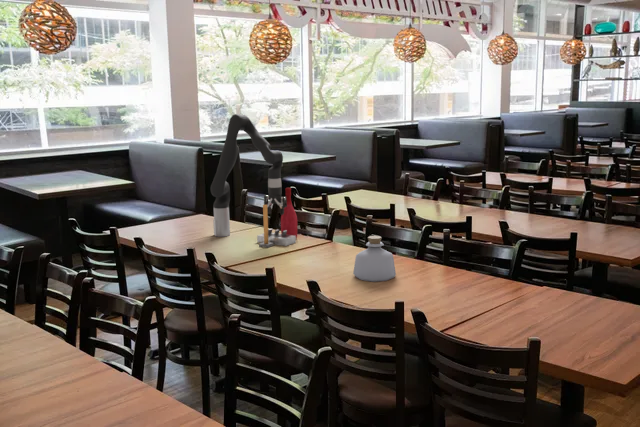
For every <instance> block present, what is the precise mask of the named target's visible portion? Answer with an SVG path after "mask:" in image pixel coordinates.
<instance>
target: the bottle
mask: <svg viewBox="0 0 640 427" xmlns="http://www.w3.org/2000/svg"><path fill="white" fill-rule="evenodd" d="M367 240H368V242H366V244H365V246H366V247H367V248H366V249H364V250H362V251H360V252H358V253H357V254H356V255H355V260H354V266H353V275H354V277H356V278H357V279H359V280H360V281H365V282H366V281H367V282H374V283H376V282H377V283H378V282H387V281H390V280H392V279H394V278H395V277H396V275H397V273H396V267H395V266H396V265H395V260H394V259H395V258H394V256H393V253H392V252H391V251H387V249H384V248H382V246H384V243H383V242H382V241H381V240H382V236H379V235H369V236H368V237H367Z"/></svg>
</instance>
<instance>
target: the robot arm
mask: <svg viewBox="0 0 640 427" xmlns="http://www.w3.org/2000/svg"><path fill="white" fill-rule="evenodd" d="M240 131H243V132H245V133H246V134H247V135H248V136H249V138H250V139H251V142H252V144H253V146H254V147H255V148H256V150H258V151H259V152H260V154H261V157H262V158H263V160H264V161H265V162H266V163H267V164H269V165H271V167H269V169H268V172H267V174H268V176H267V177H268V179H267V190H268V195H264V196H263V197H264V198H263V199H264V200H263V201H264V202H263V205H267V211H268V214H269V215H271V214H272V206H273V204H275V205H277V206H279V208H280V209H279V210H280V214H279V215H283V214H284V208H285V207H287V198H286V196H282V192H283V191H282V189H283V188H282V176H281V175H282V174H281V170H282V167H283V160H284V156H283V154H282V151H280V150H273V151H272V150H271V148H272V145H271V144H270V143H269V142H268V141H267V139H266V138H264V136H263V135H261V133H260V132H259V130H258V129H257V128H256V126H255V125H254V123H253V122H252V121H251V119H250V117H248V115H245V114H238V113H236V114H232V116H231V117H230V118H229V122H228V125H227V132H226V137H225V140H224V145H223V148H222V150H221V154H220V158H219V161H218V162H219V163H218V165H217V168H216V173H215V174H214V177H213V179H212V180H213V181H212V183H211V184H210V188H209V189H210V193H211V195H212V196H213V197H215V200H214V202H213V206H212V207H213V220H212V222H213V235H214V236H215V237H222V238H223V237H228V236H230V235H231V226H230V225H231V224H230V201H231V188H230V184H229V182H227V178H228V176H229V174H230V173H231V172H232V170H233V168H234V166H235V164H236V161H237V158H238V154H239V149H238V143H237V140H238V135H239V132H240Z"/></svg>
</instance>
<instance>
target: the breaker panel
mask: <svg viewBox="0 0 640 427" xmlns="http://www.w3.org/2000/svg"><path fill="white" fill-rule="evenodd" d="M274 234H275V232H272V233H271V234H269V235H268V242H271V243H274V246H275V245H276V246H283V247H287V246H290V245H292V244H293V245H294V244H295V243H296V242H297V237H296V235H288V234H286V235H285V236H281V235H282V234H281V233H279V234H278V235H274ZM256 239H257V240H256V243H259V244H260V243H263V242H264V232H263V233H260V234H257V235H256Z"/></svg>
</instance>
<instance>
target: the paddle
mask: <svg viewBox="0 0 640 427" xmlns="http://www.w3.org/2000/svg"><path fill="white" fill-rule="evenodd" d="M273 230H274V229H273V228H268V235H269V234H271V233H273Z"/></svg>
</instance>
